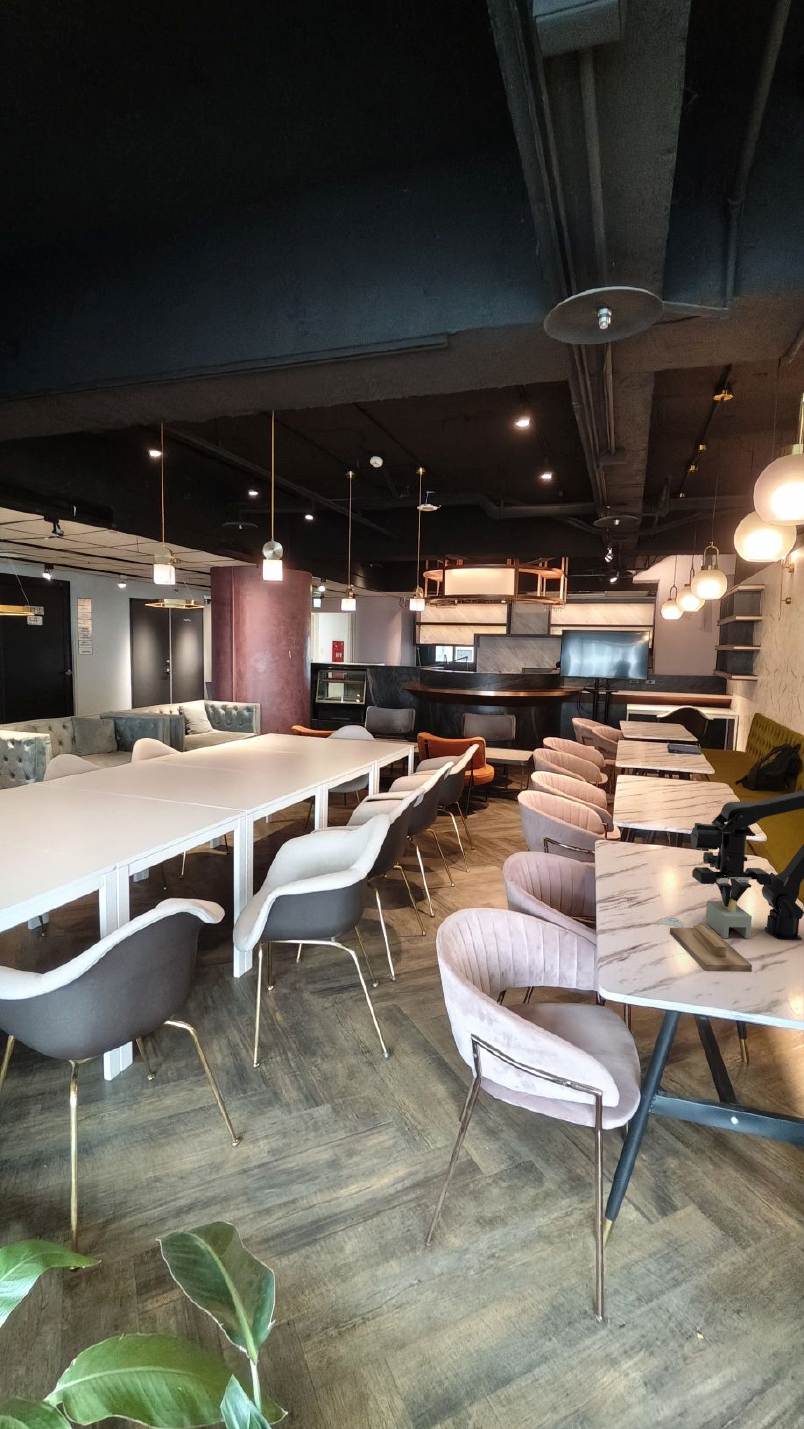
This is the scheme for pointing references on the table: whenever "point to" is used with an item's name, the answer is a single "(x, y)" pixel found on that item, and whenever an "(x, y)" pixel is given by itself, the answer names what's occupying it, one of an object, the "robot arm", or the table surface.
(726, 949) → the cleat board
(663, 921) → the mounting bracket
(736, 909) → the cabinet block
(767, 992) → the table surface
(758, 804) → the robot arm
